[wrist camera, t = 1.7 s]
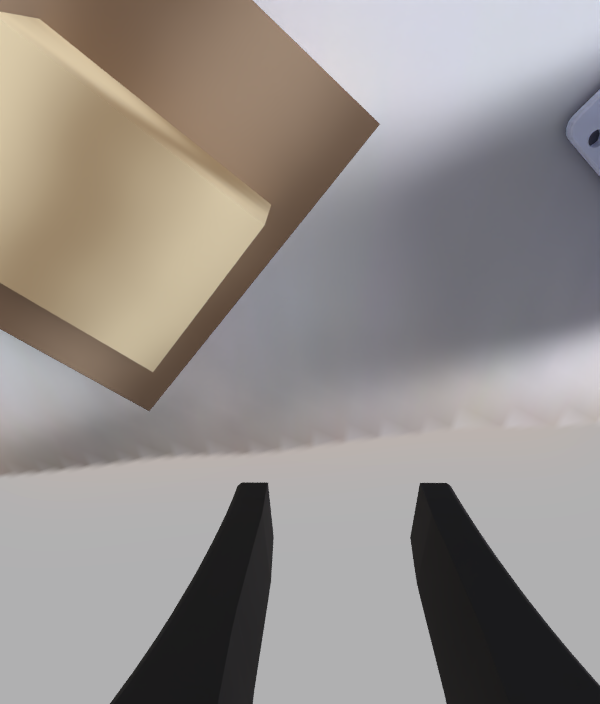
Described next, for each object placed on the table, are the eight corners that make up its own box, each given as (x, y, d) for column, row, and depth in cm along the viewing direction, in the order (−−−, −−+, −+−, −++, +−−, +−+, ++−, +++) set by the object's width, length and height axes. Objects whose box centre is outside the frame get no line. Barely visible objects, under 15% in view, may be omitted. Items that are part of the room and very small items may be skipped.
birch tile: (271, 204, 13) (264, 225, 11) (170, 339, 15) (153, 372, 14) (39, 18, 11) (-14, 9, 9) (-32, 213, 13) (-83, 234, 12)
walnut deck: (368, 113, 14) (379, 124, 12) (170, 367, 20) (149, 411, 17) (-5, -249, 10) (-109, -350, 8) (-117, 196, 16) (-198, 219, 13)
